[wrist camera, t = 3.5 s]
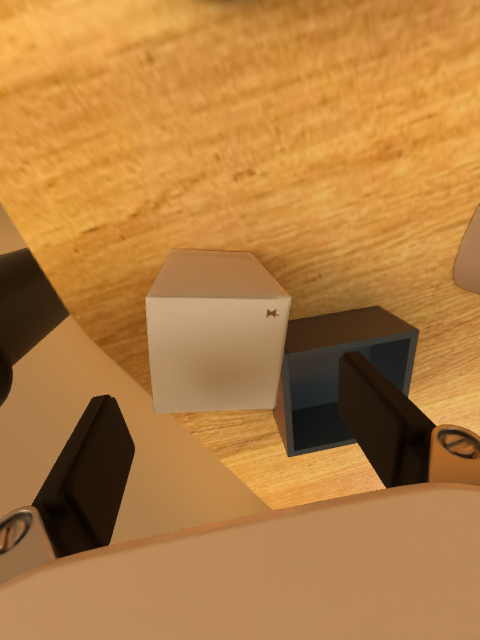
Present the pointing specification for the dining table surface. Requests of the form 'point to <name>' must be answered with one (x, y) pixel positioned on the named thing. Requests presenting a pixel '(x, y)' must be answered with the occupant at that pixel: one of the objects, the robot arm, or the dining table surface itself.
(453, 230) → the dining table surface
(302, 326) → the dark grey storage bin
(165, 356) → the white packaging box
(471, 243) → the lumpy-topped squat cylinder
